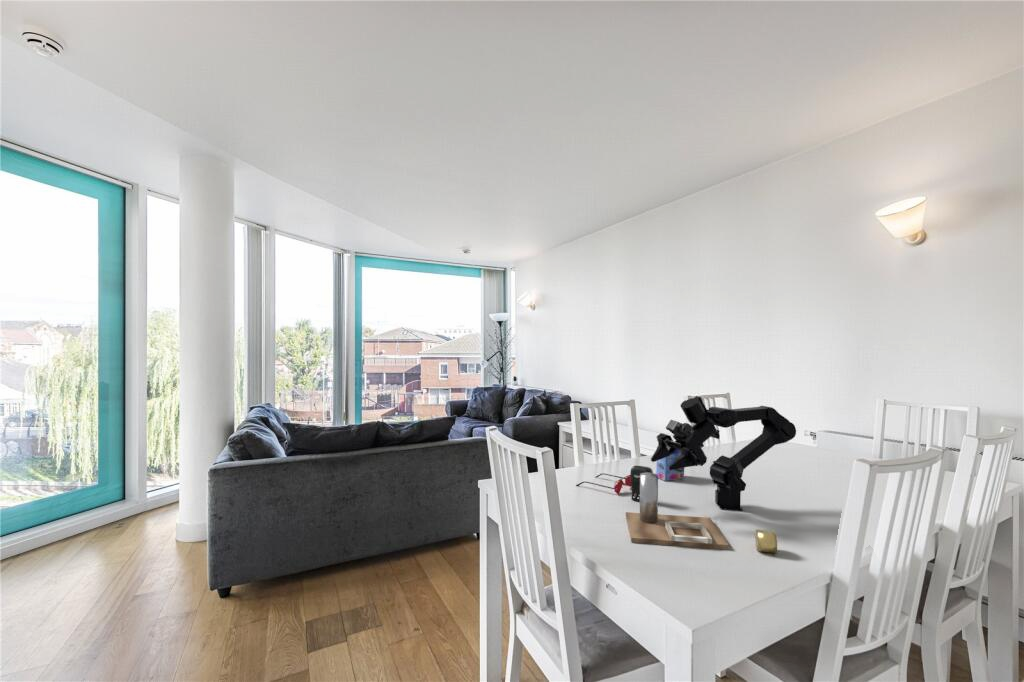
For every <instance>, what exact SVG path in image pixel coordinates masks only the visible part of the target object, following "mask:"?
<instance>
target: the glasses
mask: <svg viewBox="0 0 1024 682" xmlns="http://www.w3.org/2000/svg"><path fill="white" fill-rule="evenodd" d="M602 475H604V476H610V477H614V478H619V479H618V480H616V481H615V483H614V487H611V486H605V485H603V484H599V483H598V484H597V483H594V482H590V481H582V482H580V483H577V484H576V485H575V487H578V486H580V485H582V484H584V483H587V484H590V485H595V486H599V487H602V488H607V489H611V490H614V492H615V493H616V494H617V495H619V494H620V493H621V490H622V489H623V486H624V487H630V488H632V482H630V474H628V475H626V476H624V477H623V476H618V475H613V474H608V473H600V474H598V475H596V476H594V478H598V477H600V476H602Z"/></svg>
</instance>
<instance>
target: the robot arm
mask: <svg viewBox="0 0 1024 682" xmlns="http://www.w3.org/2000/svg"><path fill="white" fill-rule="evenodd" d="M680 408H681V411H683V413H684V415H685V417H686V419H687V420H688V422H683V423H682V422H679V421H677V420H674V419H670V420H669V422H668V423H667V425H666V426H665V430H667V431H669V432H670V433H671V434H673V435H672V436H671V435H669V434H666V433H661V432H660V433H659V434H658V435H656V439H657V440H656V441H657V443H658V445H657V446H656V450H655V451H654V453H653V455H652V456H651V457H650V461H651V462H652V463H654V462H655V463H656V462H657V461H658V460H660V459H663V458H665V457H668V456H670V455H671V453H674V452H675V451H676V450H679V451H681V452H682V453H681V455H680V456H679V457H678V458H677V459H676V460H675V461H674V462H673V463H672V464H671V465H670V466H669V469H670V470H675V469H679V468H684V469H685V468H689V467H691V468H692V467H698V466H701V467H703V465H705V463H707V459H708V457H707V455H706V453H705V452H704V450H703V448H704V447H705V444H704V443H705V442H706V441H708V440H709V439H710V438H713V439H717V440H719V439H720V432H721V431H720V430H719V429H717V428H716V427H720V428H724V429H725V428H729V427H733V426H735V425H737V424H738V423H742V422H752V421H760V422H761V425H763V427H762V431H761V433H760V435H758V436H756V438H754V439H753V440H751V441H750V442H749V443H748V444H747V445H745V446H744V447H743V448H742V449H740V450H739V451H738V452H736V453H734V454H733V456H731V457H728V456H725V455H723V454H722V455H721V456H719V457H717V459H716V460H714V461H712V464H711V465H710V467H709V476H710V478H711V481H712V483H713V484H714V485H716V489H715V490H714V491H715V492H714V502H715V504H716V505H717V506H718V507H719V509H720V510H731V511H743V507H742V506H741V497H742V496H741V494H742V493H741V492H743V491H745V489H746V487H747V483H746V482H745V481H744V480H743V479H742V478H743V474H744V470H745V469H746V468H748V467H749V466H750V465H751V464H752V463H753V462H756V460H757V459H759V458H760V457H762V456H763V455H764V454H765V453H766V452H768V451H769V450H771V448H773V447H774V446H777V445H781V444H784V443H787V442H789V441H791V440H793V439H794V438H795V437H796V435H797V429H796V426H795V424H794V423H793V422H791V421H790V420H789V419H787V417H785V416H783V415H782V414H780V413H779V412H778V411H777V410H776V409H775V408H774V407H771V406H765V405H760V406H753V407H742V408H726V407H718V406H711V407H709V408H708V409H707V407H706V405H705V403H704V401H703V399H702V397H701V396H698V395H697V396H694V397H692V398H689V399H686V400H684V401H682V402H681V403H680ZM690 423H692V424H693V425H691V424H690ZM674 440H675V442H674Z"/></svg>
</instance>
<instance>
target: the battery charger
mask: <svg viewBox="0 0 1024 682" xmlns="http://www.w3.org/2000/svg"><path fill="white" fill-rule="evenodd" d="M645 472H648V473H654V471H653V469H652V468H651V467H650V466H647V465H641V464H634V465H633V466H632V467H631V469H630V474H629V475H630V482H632V487H631V497H630V498H631V500H632V501H635V502H639V503H640V474H641V473H645Z"/></svg>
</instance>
